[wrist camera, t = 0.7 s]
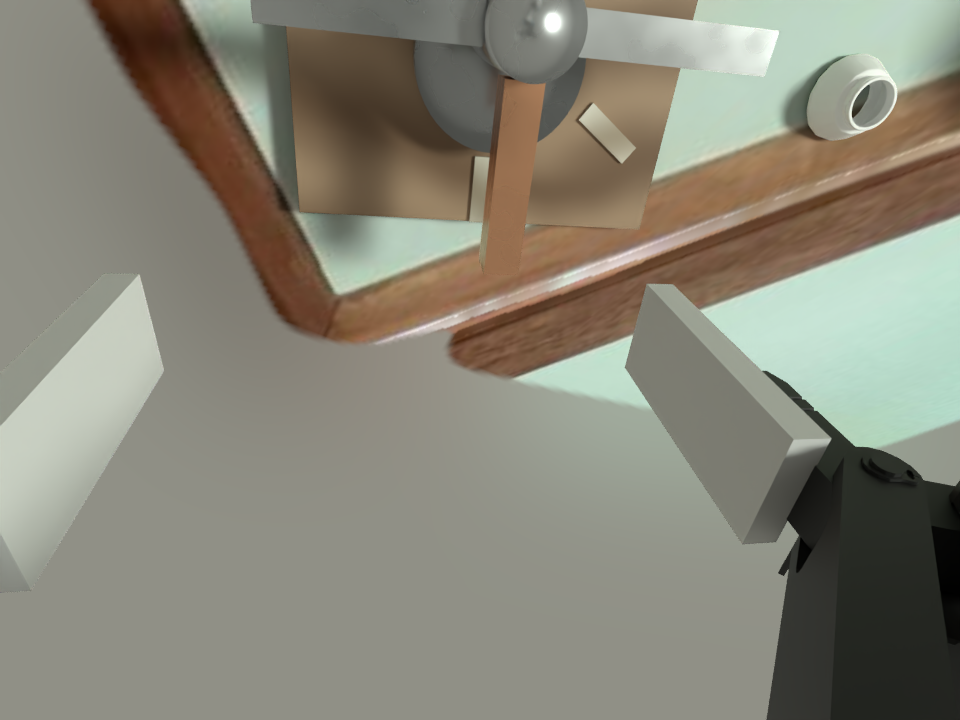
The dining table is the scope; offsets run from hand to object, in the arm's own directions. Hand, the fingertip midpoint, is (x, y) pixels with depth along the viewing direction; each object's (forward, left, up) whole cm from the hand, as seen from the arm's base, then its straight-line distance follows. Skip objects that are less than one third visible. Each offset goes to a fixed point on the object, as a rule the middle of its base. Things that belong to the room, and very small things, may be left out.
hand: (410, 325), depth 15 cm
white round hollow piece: (-5, +29, -23) cm, 37 cm away
